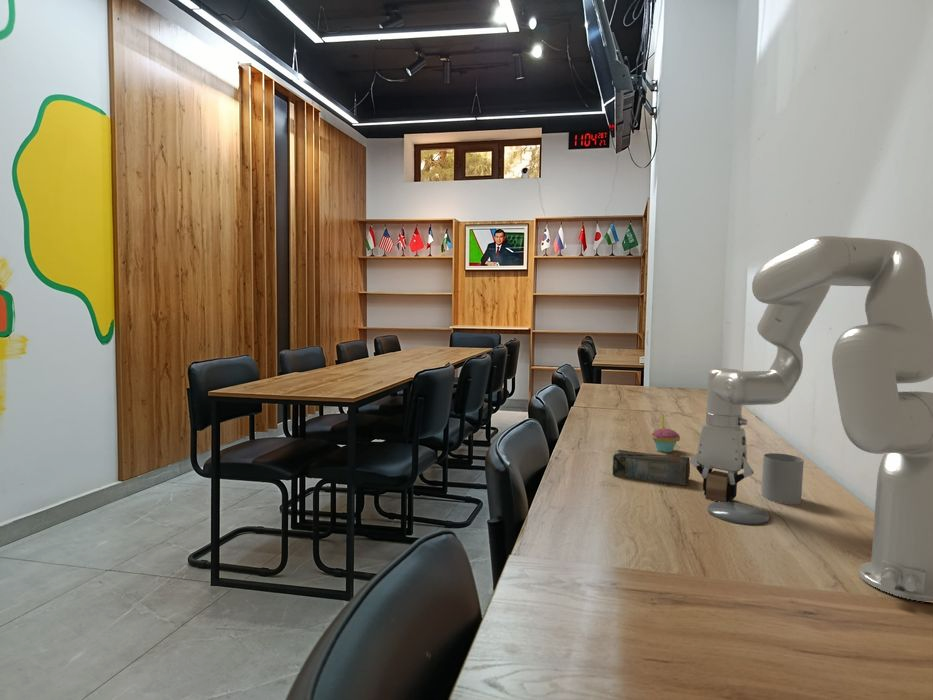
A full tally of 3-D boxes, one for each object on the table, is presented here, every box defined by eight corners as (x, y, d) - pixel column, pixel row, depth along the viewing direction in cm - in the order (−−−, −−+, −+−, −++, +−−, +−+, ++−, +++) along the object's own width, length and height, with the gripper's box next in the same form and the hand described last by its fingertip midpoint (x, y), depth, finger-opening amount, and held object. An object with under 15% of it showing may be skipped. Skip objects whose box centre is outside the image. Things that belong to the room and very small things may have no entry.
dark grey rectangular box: (616, 469, 158) (617, 446, 158) (689, 479, 150) (691, 455, 150) (611, 476, 151) (612, 452, 151) (688, 487, 143) (689, 462, 143)
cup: (806, 505, 130) (809, 463, 130) (768, 502, 132) (770, 460, 131) (793, 494, 139) (795, 454, 138) (757, 491, 140) (759, 452, 140)
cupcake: (645, 448, 184) (647, 412, 183) (665, 446, 187) (666, 410, 187) (664, 454, 176) (666, 416, 175) (685, 452, 180) (686, 415, 179)
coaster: (757, 529, 115) (757, 525, 115) (698, 513, 123) (699, 510, 123) (776, 515, 123) (776, 511, 123) (720, 501, 132) (720, 498, 132)
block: (725, 503, 131) (726, 477, 130) (705, 498, 134) (706, 473, 133) (732, 499, 134) (733, 474, 133) (713, 494, 137) (714, 470, 137)
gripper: (767, 424, 129) (762, 502, 130) (694, 414, 141) (690, 485, 142) (756, 428, 124) (751, 510, 125) (681, 417, 136) (677, 491, 137)
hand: (719, 496), depth 134 cm, fingers closed on block, 4 cm apart
